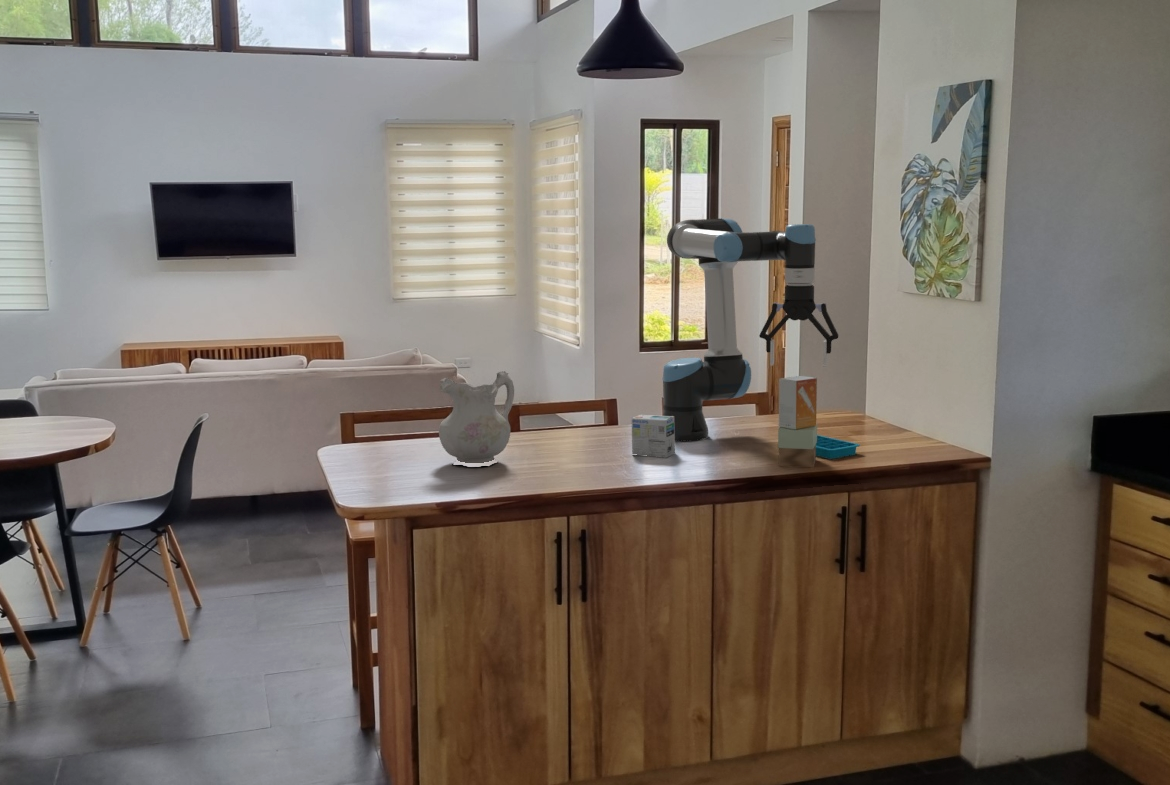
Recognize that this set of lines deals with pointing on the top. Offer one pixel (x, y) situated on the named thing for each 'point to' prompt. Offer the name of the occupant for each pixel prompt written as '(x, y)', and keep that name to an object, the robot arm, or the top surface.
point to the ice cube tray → (834, 447)
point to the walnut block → (797, 457)
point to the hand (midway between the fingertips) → (798, 365)
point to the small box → (797, 402)
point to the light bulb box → (653, 435)
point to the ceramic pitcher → (476, 420)
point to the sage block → (797, 437)
